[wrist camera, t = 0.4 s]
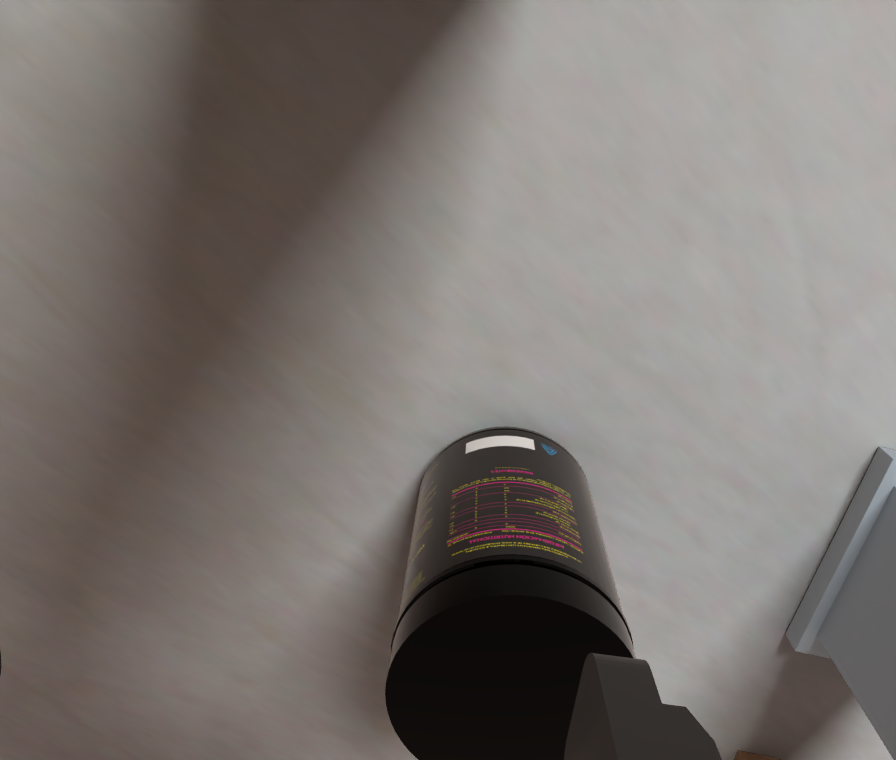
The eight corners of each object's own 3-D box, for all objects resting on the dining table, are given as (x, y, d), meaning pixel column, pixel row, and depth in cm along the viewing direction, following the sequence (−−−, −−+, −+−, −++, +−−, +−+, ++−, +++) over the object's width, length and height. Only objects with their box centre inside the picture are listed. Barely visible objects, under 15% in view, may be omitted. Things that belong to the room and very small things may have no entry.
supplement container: (437, 578, 30) (415, 806, 20) (401, 433, 28) (356, 613, 18) (599, 555, 29) (657, 781, 20) (576, 404, 27) (629, 576, 17)
